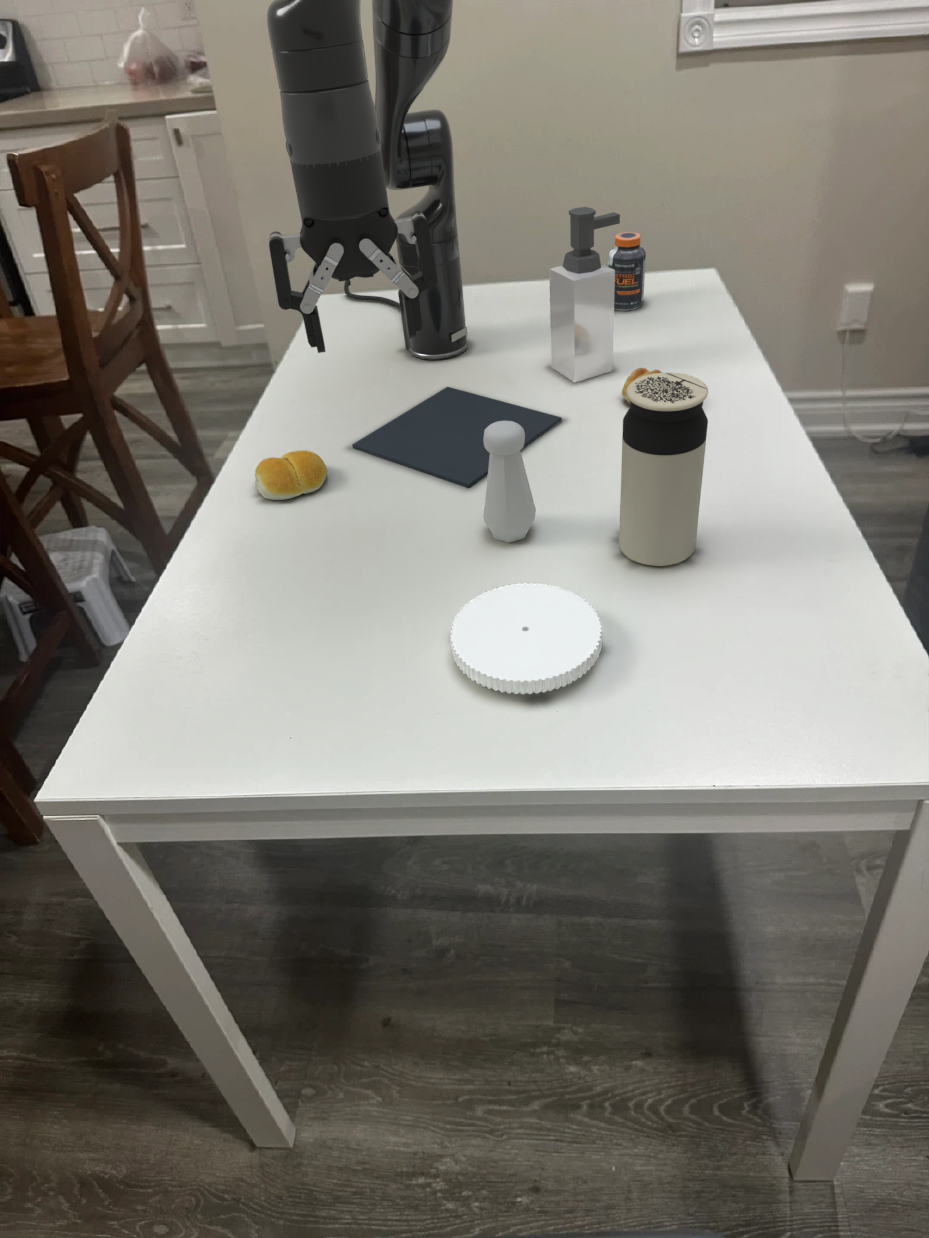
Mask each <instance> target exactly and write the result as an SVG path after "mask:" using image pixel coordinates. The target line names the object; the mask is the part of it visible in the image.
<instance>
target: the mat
mask: <svg viewBox="0 0 929 1238" xmlns="http://www.w3.org/2000/svg"><path fill="white" fill-rule="evenodd" d="M497 421H513V422H515V423H518V424H519V425H520V426H521V427H522V428H523V429H524V433H525V442H524V446H523V448H522V449H521V450H520V451H522V450H523V449H525V448H526V447H527V446H528V445H530V444H531V443H533V442H534V441H535V440H537V439H538V438H539V437H541V436H542V435H544V434H545V433H546V432H548V431H549V430H551V429H552V428H553V427H555V426H556V425H558V424H559V423H560V422H562V417H561V416H558V415H554V414H550V413H547V412H543V411H540V410H535V409H533V408H528V407H524V406H521V405H517V404H513V403H510V402H506V401H502V400H499V399H495V398H491V397H487V396H484V395H480V394H476V393H473V392H469V391H465V390H462V389H458V388H455V387H451V386H446V387H444V388H442V389H441V390H439V391H438V392H436V393H435V394H433V395H431V396H430V397H428V398H426V399H424V400H423V401H422V402H420V403H418V404H416V405H415V406H412V407H411V408H410V409H408V410H406V411H404V413H403V412H402V413H401V415H399V416H396V417H395V418H393V419H392V420H390V421H389V422H387V423H385V424H383V425H382V426H380V427H379V428H377V429H375V430H374V431H372V432H370V433H369V434H367V435H366V436H364V437H362V438H360V439H359V440H357V441H355V442H354V443H352V444H351V447H352V448H353V449H355V450H358V451H361V452H364V453H367V454H370V455H373V456H375V457H379V458H380V459H384V460H387V461H390V462H392V463H395V464H399V465H402V466H404V467H408V468H411V469H413V470H417V471H419V472H422V473H424V474H427V475H431V476H433V477H436V478H440V479H442V480H445V481H448V482H452V483H454V484H457V485H460V486H462V487H466V488H468V489H469V488H471V487H472V486H474V485H475V484H476V483H478V482H479V481H481V480H482V479H483V478H485V477H486V476H488V468H489V457H490V453H489V452H488V451H487V450H486V449H485V447H484V441H483V438H484V431H485V429H486V428H487V427H488V426H489V425H490V424H492V423H495V422H497Z"/></svg>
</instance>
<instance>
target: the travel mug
mask: <svg viewBox="0 0 929 1238" xmlns="http://www.w3.org/2000/svg"><path fill="white" fill-rule="evenodd" d="M626 393H627V397H628V398H629V400H630V403H629V408H628V409H627V412H626V413H625V415H624V416H623V419H622V436H621V437H622V438H621V439H622V441H621V472H620V498H619V499H620V500H619V501H620V503H619V532H618V534H619V535H618V547H619V549H620V551H621V552H622V554H623V555H624V556H626V557H627V558H628V559H630V560H632V561H634V562H636V563H638V564H642V565H647V566H654V567H663V566H665V567H666V566H671V565H675V564H679V563H682V562H683V561H686V560H687V559H688V558H690V557H691V556H692V555H693V554H694V552H695V549H696V545H697V537H698V536H697V535H698V524H699V514H700V507H701V505H700V503H701V495H702V485H703V475H704V465H705V456H706V444H707V437H708V436H707V435H708V427H709V425H708V424H709V420H708V417H707V414H706V413H705V411H704V408H703V406H704V401H705V400H706V399H707V397H708V396H709V388H708V386H707V384H706V383H705V382H704V381H703V380H701V379H700V378H698V377H696V376H693V375H689V374H686V373H682V372H662V373H655V374H649V375H645V376H642V377H640V378H638V379H636V380H634V381H633V382H631V383H630V384H629V386H628V387H627V391H626Z"/></svg>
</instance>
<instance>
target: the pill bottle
mask: <svg viewBox="0 0 929 1238" xmlns="http://www.w3.org/2000/svg"><path fill="white" fill-rule="evenodd" d="M614 245H615V246H614V247H613V248H612V249H610V251H609V254H608V267H609V268H612V269H614V270H615V288H614V311H622V312H623V311H625V312H627V311H633V310H636V309H639V308H640V307H642V306H643V304H644V297H645V296H644V295H645V279H646V278H645V277H646V276H645V275H646V257H647V256H646V255H647V254H646V250H645V249H644V247H642V246H641V234H640V233H639V232H634V231H624V232H620V233H617V234H616V235H615V238H614Z"/></svg>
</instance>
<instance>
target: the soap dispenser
mask: <svg viewBox="0 0 929 1238" xmlns="http://www.w3.org/2000/svg"><path fill="white" fill-rule="evenodd" d="M596 214H597V210H595V209H594V208H592V207H587V206H580V207H574V208H572V209H570V210H568V215H569V217H570V219H569V220H570V224H569V225H570V231H569V233H570V247H571V248H572V250H570V251H568V252H565V254H564V258H563V262H562V265H558V266H555V267H551V268H548V271H549V275H548V276H549V277H548V278H549V313H550V314H549V318H550V320H549V321H550V357H551V362H550V363H551V369H553V370H554V371H555V372H558V373H559V374H560V375H562V376H564V377H565V378H566V379H568V380H569V381H571V382H573V383H574V384H576V383H579V382H582V381H585V380H588V379H591V378H596V377H598V376H601V375H604V374H608V373H610V372H613V371H614V370H613V367H614V324H615V309H614V288H615V270H614V269H612V268H609V266H607V265H605V264H602V263H601V258H600V256H601V255H600V253H599V252H597V251H596V250H594V249H591V248H594V247H595V230H598V229H602V228H607V227H611V226H615V225H619V224H621V214H620V213H617V212H610V213H605V214H602V215H601V214H600V215H598V216H595V215H596Z"/></svg>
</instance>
